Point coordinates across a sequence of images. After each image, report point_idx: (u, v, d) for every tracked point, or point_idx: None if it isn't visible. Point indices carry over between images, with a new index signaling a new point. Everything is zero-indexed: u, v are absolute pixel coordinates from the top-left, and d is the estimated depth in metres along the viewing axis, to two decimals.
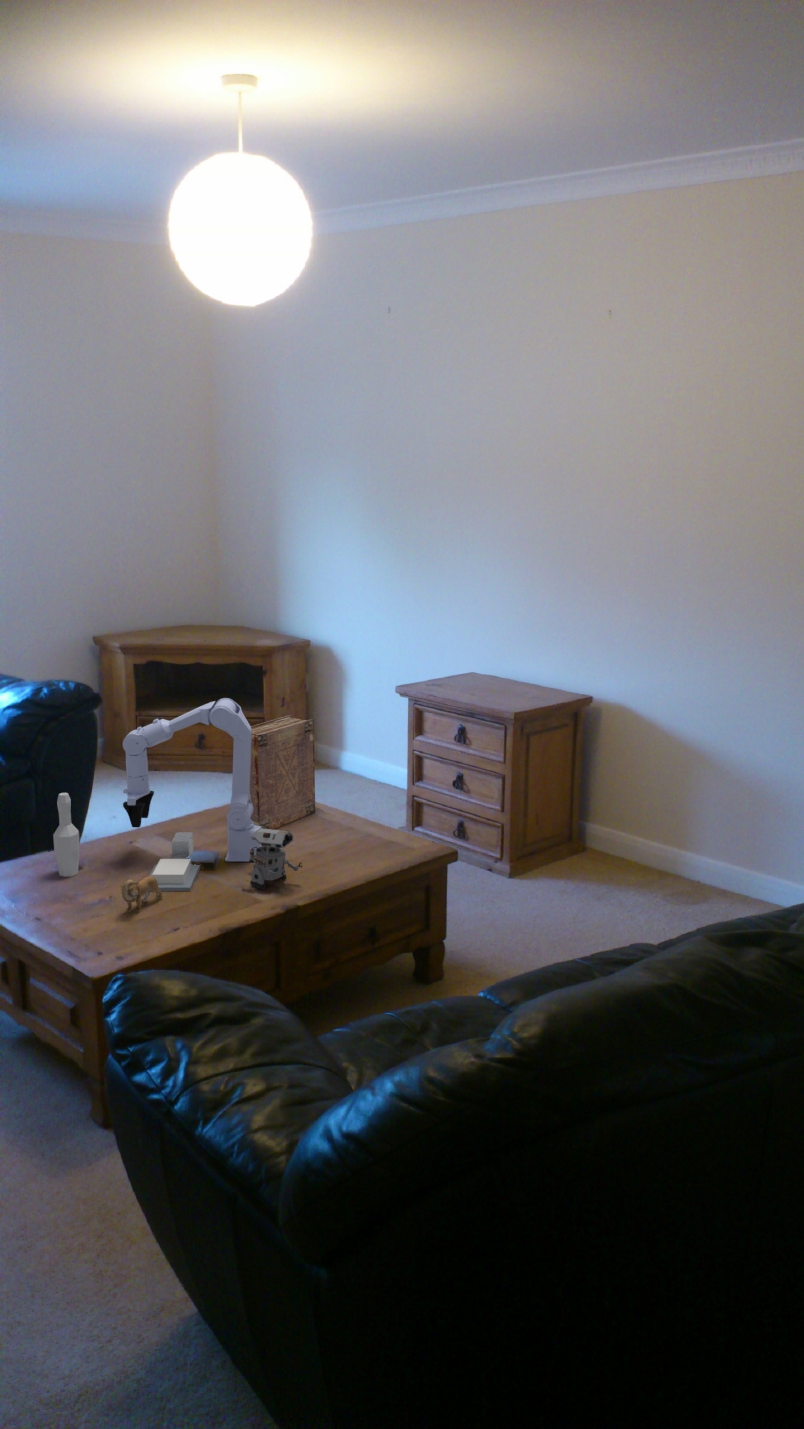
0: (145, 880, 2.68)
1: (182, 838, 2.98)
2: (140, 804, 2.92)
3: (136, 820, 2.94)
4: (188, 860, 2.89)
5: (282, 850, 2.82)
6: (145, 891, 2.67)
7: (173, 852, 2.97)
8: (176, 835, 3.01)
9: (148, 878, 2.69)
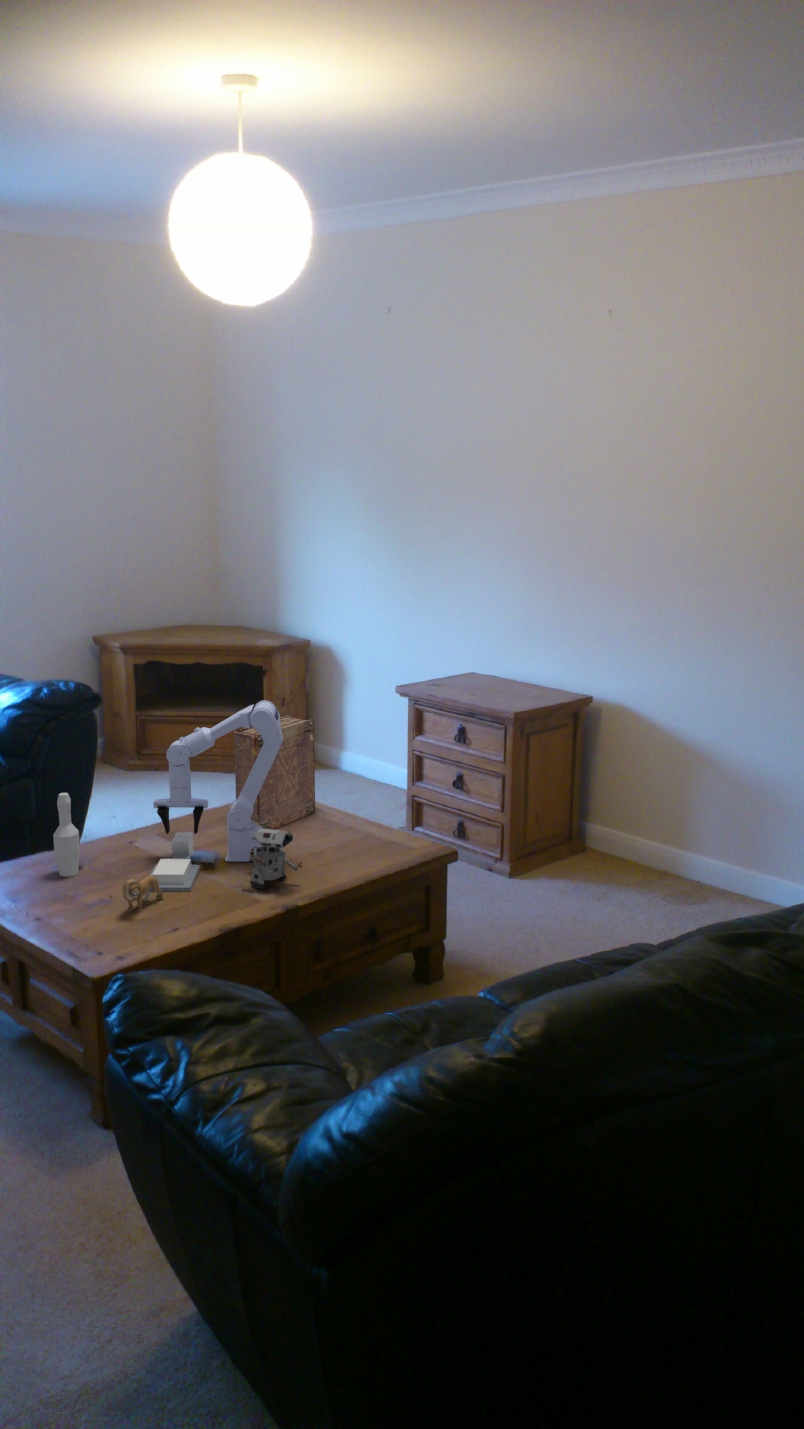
0: (146, 880, 2.69)
1: (182, 838, 2.98)
2: (160, 810, 2.96)
3: None
4: (188, 860, 2.89)
5: (282, 850, 2.82)
6: (146, 891, 2.68)
7: (173, 852, 2.97)
8: (176, 835, 3.01)
9: (149, 878, 2.69)
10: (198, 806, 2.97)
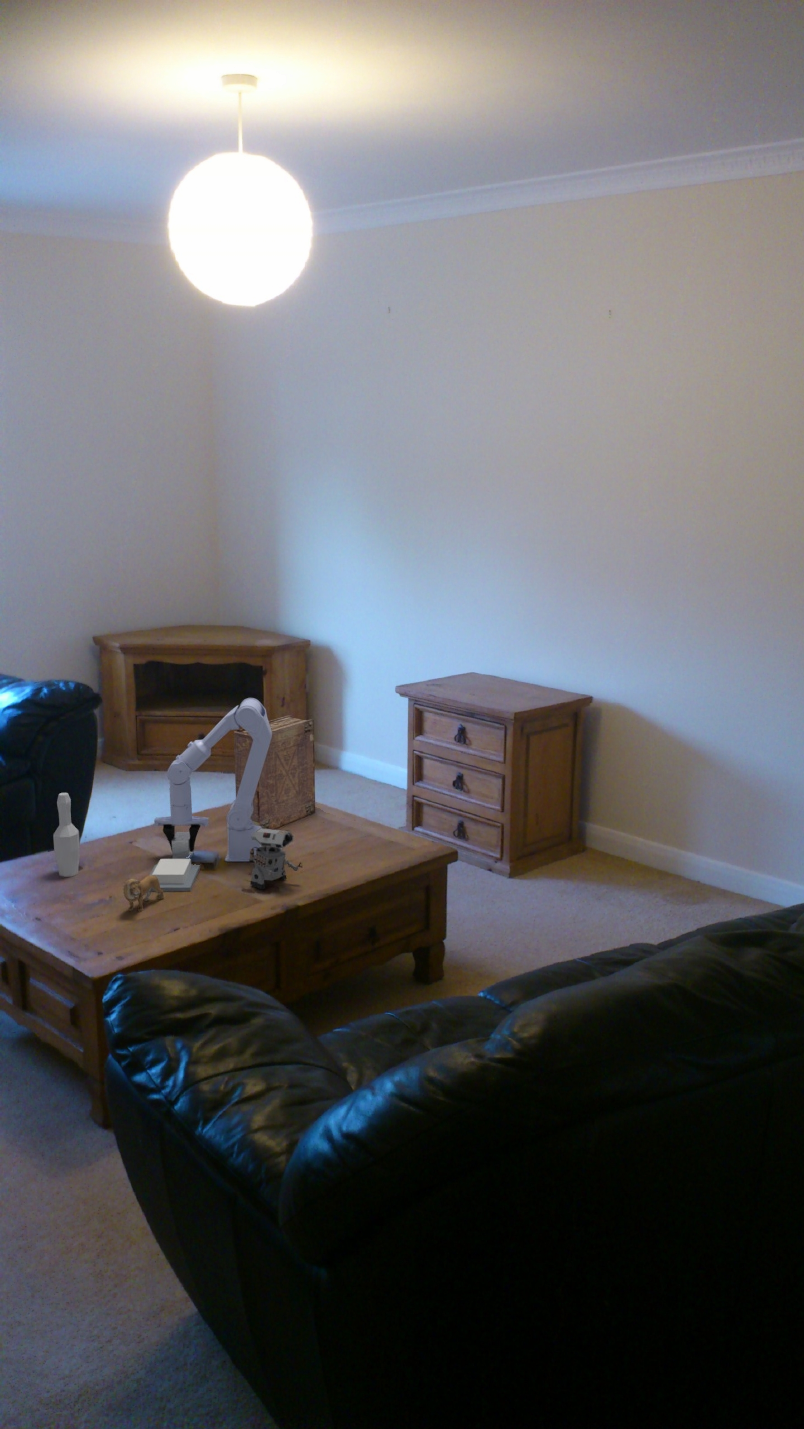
0: (147, 879, 2.69)
1: (182, 838, 2.98)
2: (166, 829, 2.97)
3: None
4: (188, 860, 2.89)
5: (282, 850, 2.82)
6: (147, 890, 2.68)
7: (173, 852, 2.97)
8: (176, 835, 3.01)
9: (150, 877, 2.70)
10: (194, 824, 2.99)
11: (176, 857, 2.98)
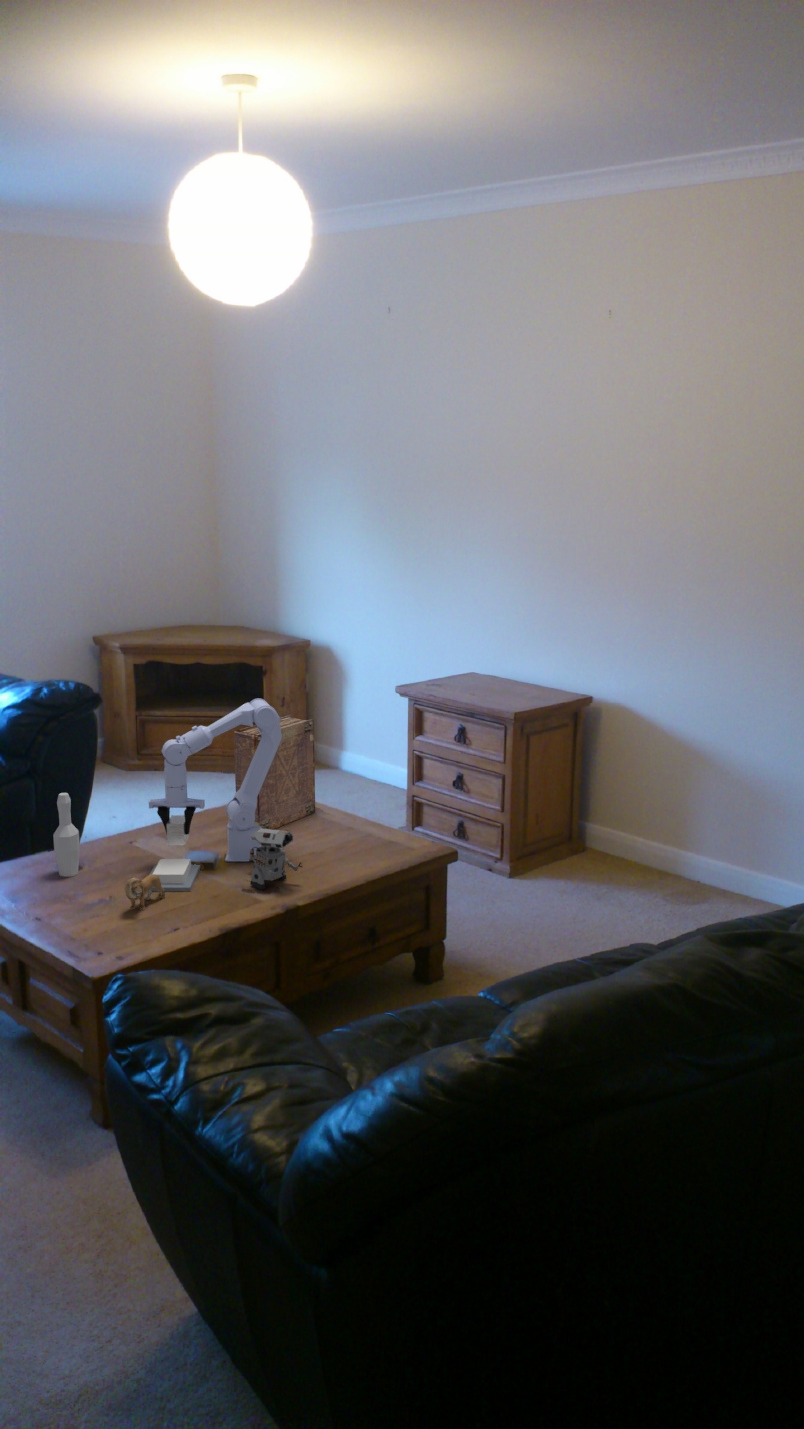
0: (148, 878, 2.70)
1: (177, 821, 2.91)
2: (160, 811, 2.90)
3: None
4: (188, 860, 2.89)
5: (282, 850, 2.82)
6: (148, 889, 2.69)
7: (168, 835, 2.90)
8: (171, 818, 2.94)
9: (151, 876, 2.70)
10: (189, 806, 2.91)
11: (171, 841, 2.91)
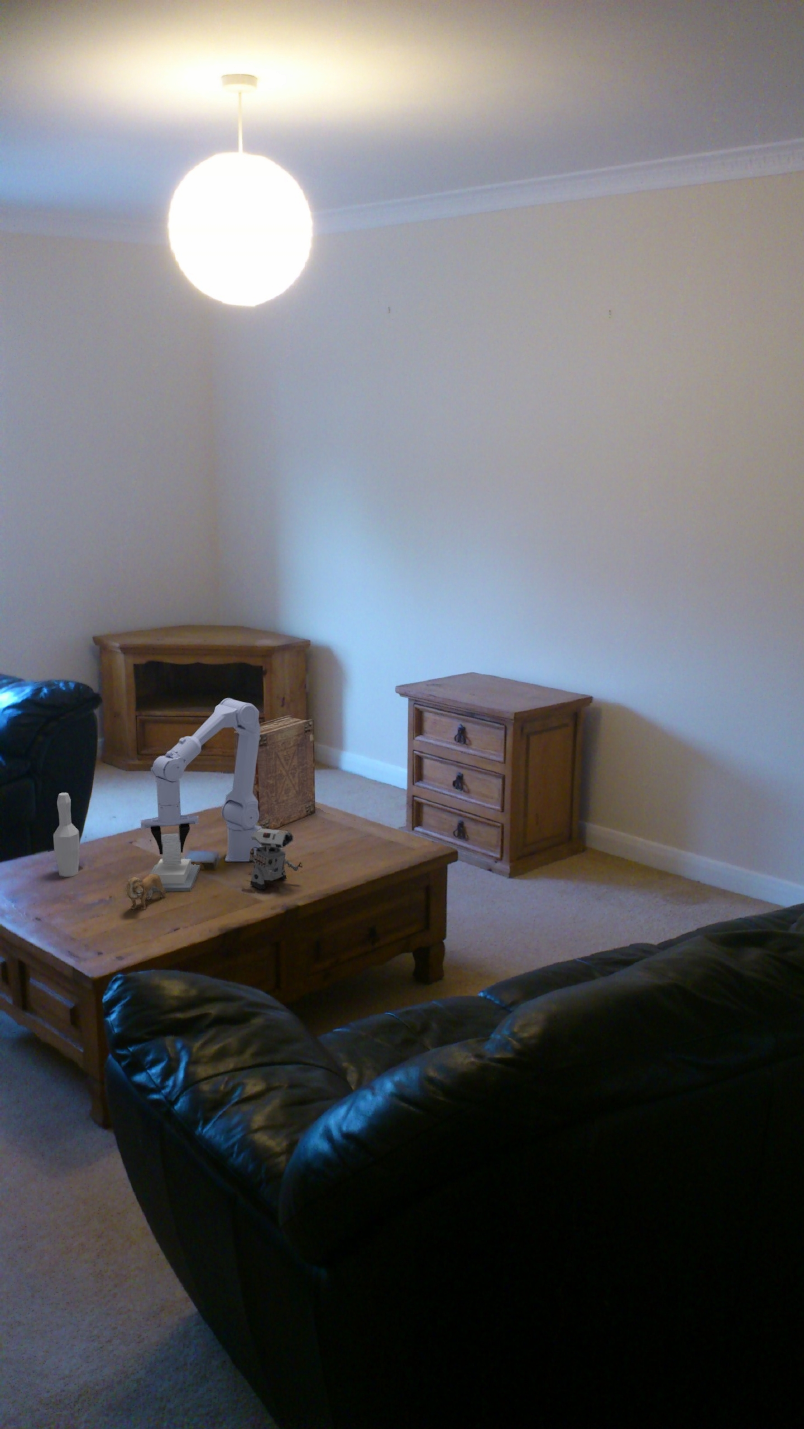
0: (149, 878, 2.70)
1: (172, 840, 2.82)
2: (155, 831, 2.80)
3: None
4: (188, 860, 2.89)
5: (282, 850, 2.82)
6: (149, 888, 2.69)
7: (164, 855, 2.81)
8: (163, 837, 2.84)
9: (152, 876, 2.71)
10: (184, 823, 2.83)
11: (167, 860, 2.81)
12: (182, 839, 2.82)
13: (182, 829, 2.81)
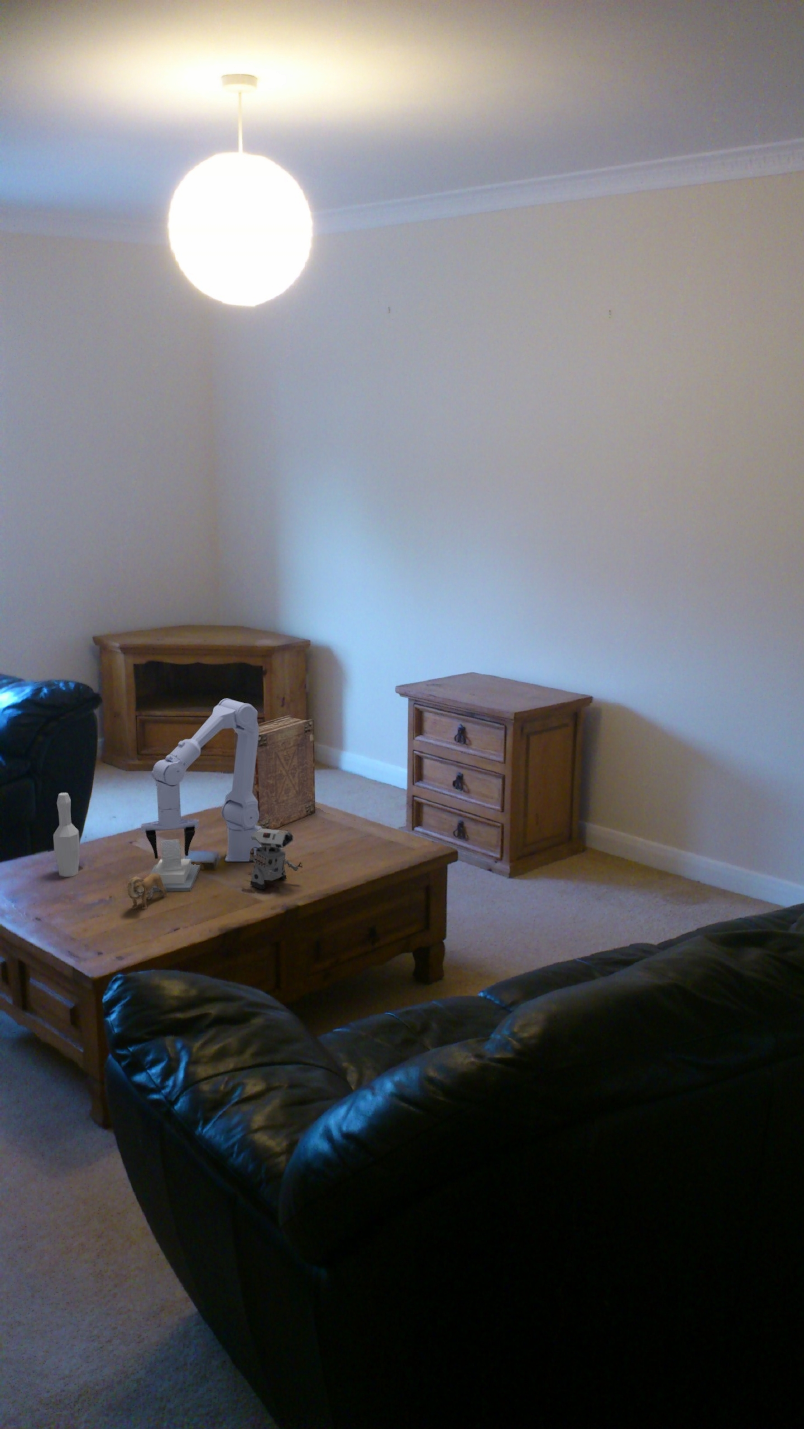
0: (150, 877, 2.70)
1: (172, 846, 2.82)
2: (150, 835, 2.79)
3: None
4: (188, 860, 2.89)
5: (282, 850, 2.82)
6: (150, 888, 2.69)
7: (164, 861, 2.81)
8: (163, 843, 2.84)
9: (153, 875, 2.71)
10: (189, 827, 2.83)
11: (167, 866, 2.81)
12: (187, 842, 2.83)
13: (187, 832, 2.81)
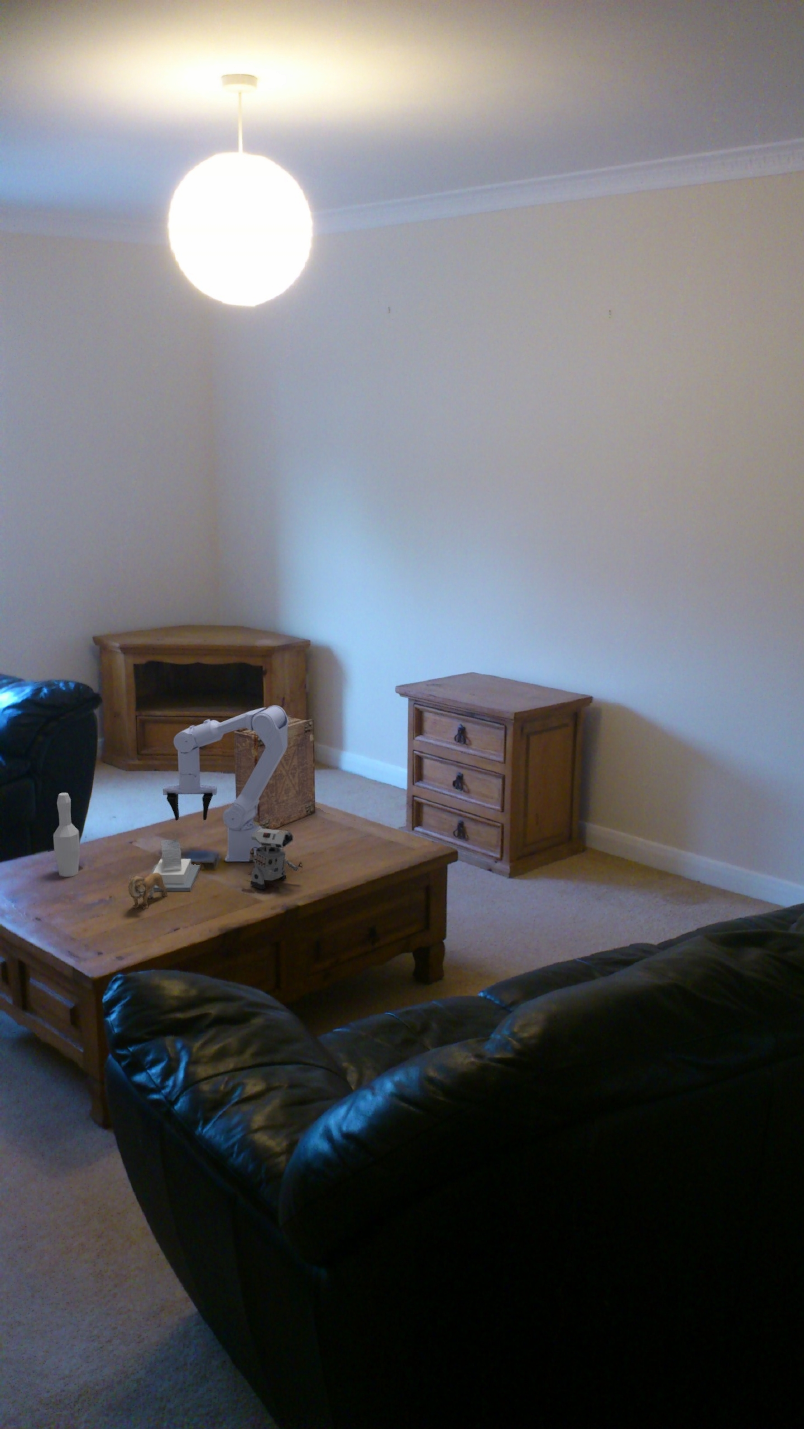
0: (151, 876, 2.71)
1: (172, 846, 2.82)
2: (170, 797, 3.00)
3: None
4: (188, 860, 2.89)
5: (282, 850, 2.82)
6: (151, 887, 2.70)
7: (164, 861, 2.81)
8: (163, 843, 2.84)
9: (154, 874, 2.71)
10: (207, 793, 3.01)
11: (167, 866, 2.81)
12: (204, 807, 3.01)
13: (204, 798, 2.99)
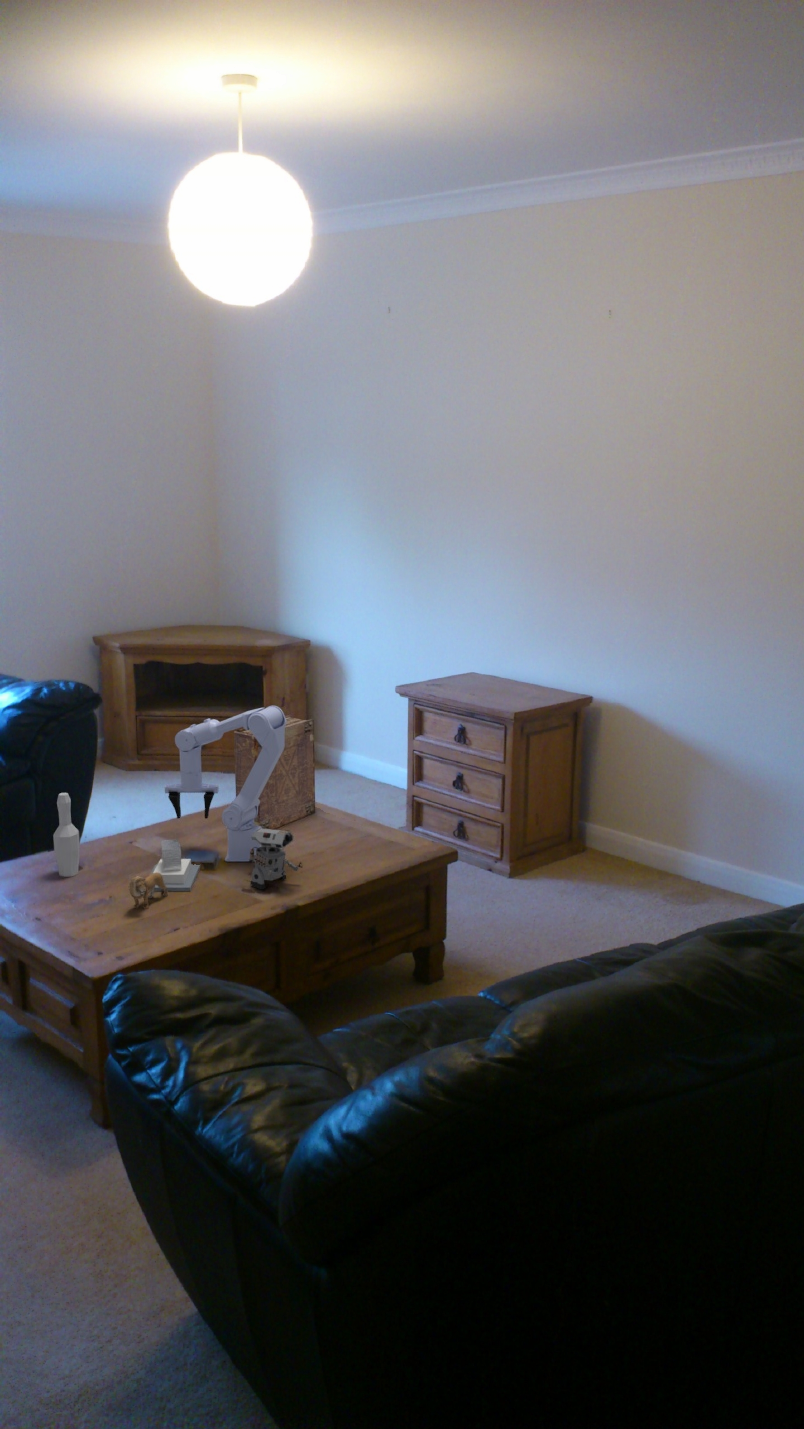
0: (151, 876, 2.71)
1: (172, 846, 2.82)
2: (171, 795, 3.01)
3: None
4: (188, 860, 2.89)
5: (282, 850, 2.82)
6: (152, 887, 2.70)
7: (164, 861, 2.81)
8: (163, 843, 2.84)
9: (154, 874, 2.71)
10: (209, 791, 3.03)
11: (167, 866, 2.81)
12: (206, 806, 3.02)
13: (205, 796, 3.01)
